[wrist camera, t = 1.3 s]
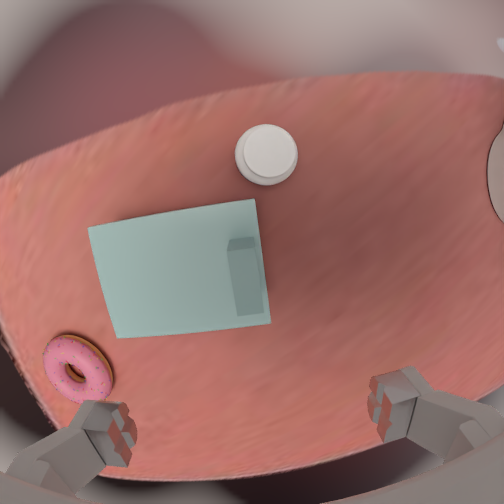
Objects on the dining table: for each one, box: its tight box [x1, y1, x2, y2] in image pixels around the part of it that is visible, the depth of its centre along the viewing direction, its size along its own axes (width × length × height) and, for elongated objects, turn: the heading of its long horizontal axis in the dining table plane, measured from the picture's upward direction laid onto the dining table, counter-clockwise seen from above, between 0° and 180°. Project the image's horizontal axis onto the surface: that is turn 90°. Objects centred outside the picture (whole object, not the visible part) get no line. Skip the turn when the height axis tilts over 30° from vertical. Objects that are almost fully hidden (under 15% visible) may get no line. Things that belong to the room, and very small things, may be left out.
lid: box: [88, 198, 271, 338], centre depth 25 cm, size 15×11×5 cm
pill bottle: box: [235, 124, 298, 185], centre depth 26 cm, size 5×5×9 cm
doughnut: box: [43, 335, 113, 404], centre depth 34 cm, size 11×11×4 cm
